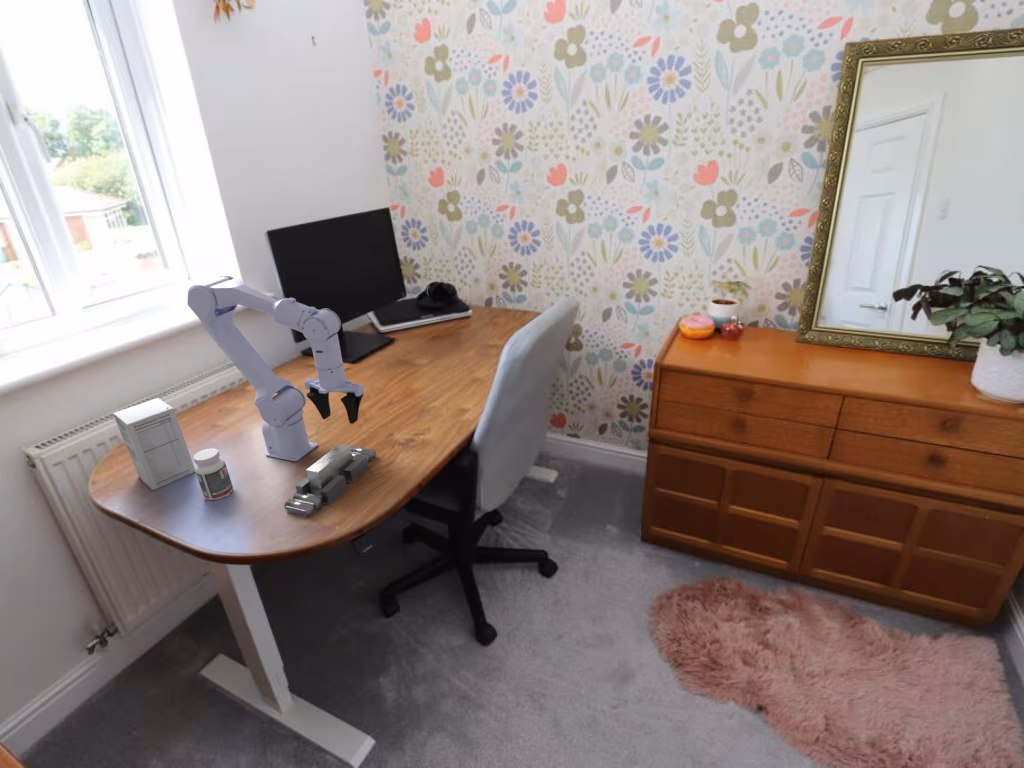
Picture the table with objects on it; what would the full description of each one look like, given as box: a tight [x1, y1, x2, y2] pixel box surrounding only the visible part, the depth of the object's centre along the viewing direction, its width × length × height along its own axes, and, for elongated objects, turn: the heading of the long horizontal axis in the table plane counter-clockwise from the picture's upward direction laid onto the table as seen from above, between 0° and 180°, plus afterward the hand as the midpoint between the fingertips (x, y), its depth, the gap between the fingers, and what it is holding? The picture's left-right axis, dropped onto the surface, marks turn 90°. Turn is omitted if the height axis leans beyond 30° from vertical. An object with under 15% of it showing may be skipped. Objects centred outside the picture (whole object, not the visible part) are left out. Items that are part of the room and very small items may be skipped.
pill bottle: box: [193, 447, 234, 501], centre depth 112 cm, size 6×6×10 cm
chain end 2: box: [344, 445, 377, 484], centre depth 121 cm, size 8×11×3 cm
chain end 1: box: [284, 475, 348, 519], centre depth 110 cm, size 8×11×3 cm
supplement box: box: [112, 397, 196, 491], centre depth 118 cm, size 10×9×17 cm
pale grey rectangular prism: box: [305, 443, 353, 494], centre depth 115 cm, size 3×11×6 cm, turn 160°
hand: (340, 419), depth 122 cm, fingers open, 7 cm apart
